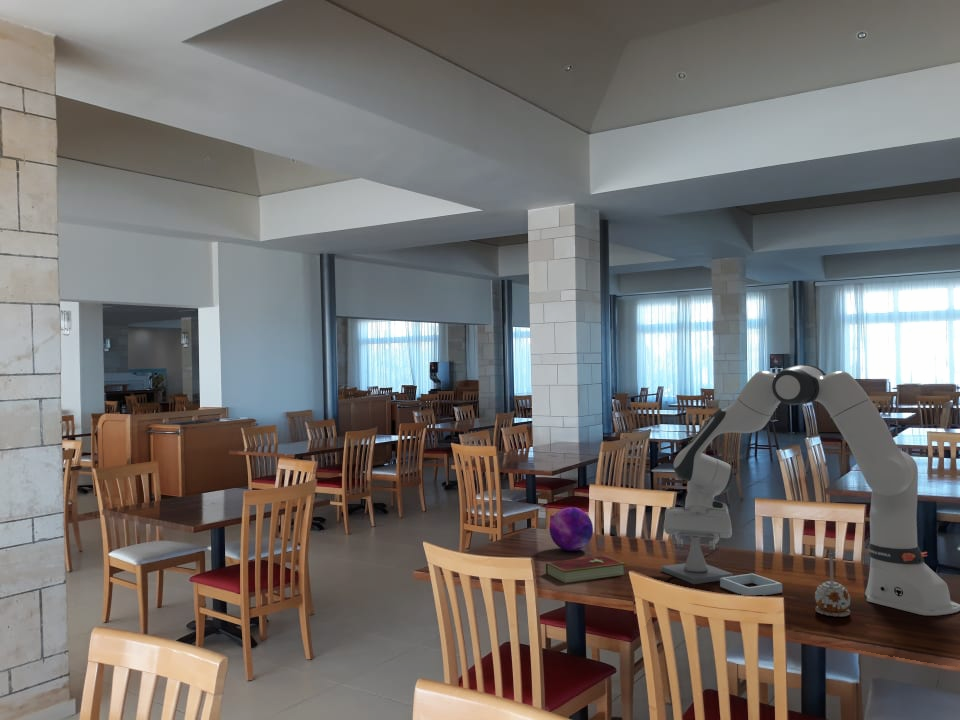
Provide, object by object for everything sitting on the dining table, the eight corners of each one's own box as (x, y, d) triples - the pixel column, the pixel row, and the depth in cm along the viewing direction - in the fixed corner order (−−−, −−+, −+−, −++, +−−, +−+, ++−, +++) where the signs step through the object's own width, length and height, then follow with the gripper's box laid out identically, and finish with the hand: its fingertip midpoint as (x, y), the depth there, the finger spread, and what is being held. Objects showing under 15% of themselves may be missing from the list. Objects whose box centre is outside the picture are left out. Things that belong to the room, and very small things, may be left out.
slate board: (733, 578, 222) (732, 573, 222) (693, 584, 217) (693, 579, 217) (698, 566, 237) (698, 561, 237) (661, 571, 232) (661, 566, 232)
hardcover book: (545, 575, 232) (545, 561, 232) (604, 567, 240) (604, 554, 240) (564, 584, 221) (564, 570, 221) (625, 576, 229) (625, 562, 229)
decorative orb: (595, 555, 253) (594, 511, 254) (550, 555, 254) (549, 511, 255) (591, 545, 268) (590, 503, 269) (549, 545, 269) (548, 503, 270)
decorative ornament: (830, 619, 184) (828, 558, 185) (809, 610, 192) (807, 551, 192) (857, 616, 186) (855, 556, 187) (835, 607, 194) (833, 549, 194)
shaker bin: (782, 592, 208) (782, 583, 208) (748, 597, 203) (748, 588, 203) (752, 581, 218) (752, 573, 218) (720, 586, 214) (720, 577, 214)
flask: (710, 573, 223) (710, 539, 224) (686, 572, 224) (685, 539, 224) (705, 566, 231) (705, 534, 231) (681, 566, 231) (680, 534, 231)
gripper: (664, 501, 239) (659, 538, 230) (731, 504, 231) (729, 543, 222) (667, 512, 243) (662, 549, 234) (733, 516, 235) (731, 555, 226)
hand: (695, 546), depth 228 cm, fingers open, 8 cm apart
